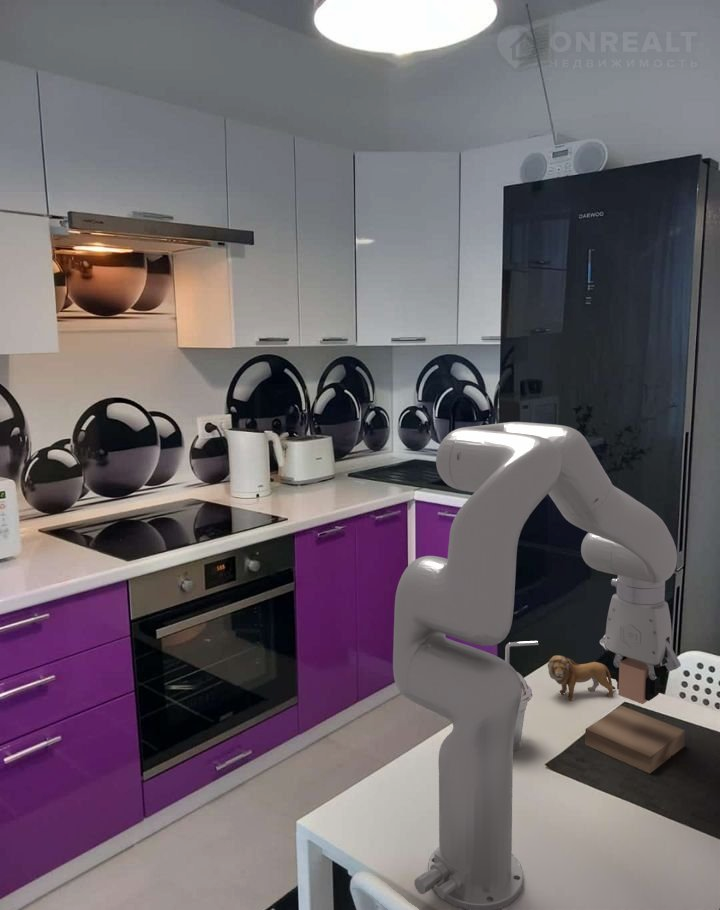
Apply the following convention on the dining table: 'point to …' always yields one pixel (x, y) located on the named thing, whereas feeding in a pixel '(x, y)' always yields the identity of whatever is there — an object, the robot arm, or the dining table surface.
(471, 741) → the robot arm
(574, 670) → the lion figurine
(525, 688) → the cup with straw
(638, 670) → the terracotta block
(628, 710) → the walnut base
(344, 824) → the dining table surface
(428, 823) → the dining table surface
